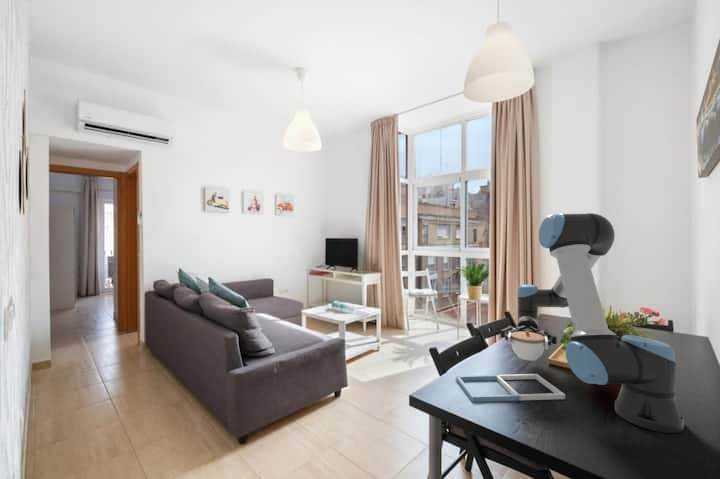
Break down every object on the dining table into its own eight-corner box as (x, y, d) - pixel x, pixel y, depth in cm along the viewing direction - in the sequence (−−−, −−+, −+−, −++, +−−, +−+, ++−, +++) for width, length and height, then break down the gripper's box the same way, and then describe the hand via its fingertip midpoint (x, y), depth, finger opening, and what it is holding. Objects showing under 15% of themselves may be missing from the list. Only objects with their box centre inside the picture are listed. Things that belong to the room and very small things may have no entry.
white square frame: (565, 399, 106) (565, 394, 106) (517, 400, 105) (517, 395, 105) (536, 377, 122) (536, 373, 122) (495, 378, 121) (495, 374, 121)
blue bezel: (519, 400, 105) (519, 395, 105) (472, 401, 105) (472, 397, 105) (496, 378, 121) (496, 374, 121) (456, 379, 121) (456, 375, 121)
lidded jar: (540, 353, 117) (540, 327, 117) (549, 364, 107) (548, 336, 107) (508, 351, 120) (508, 326, 120) (514, 361, 110) (513, 334, 110)
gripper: (561, 340, 124) (567, 359, 105) (496, 332, 135) (491, 349, 115) (561, 321, 124) (567, 336, 105) (496, 315, 135) (490, 328, 115)
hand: (527, 343), depth 110 cm, fingers closed on lidded jar, 11 cm apart
